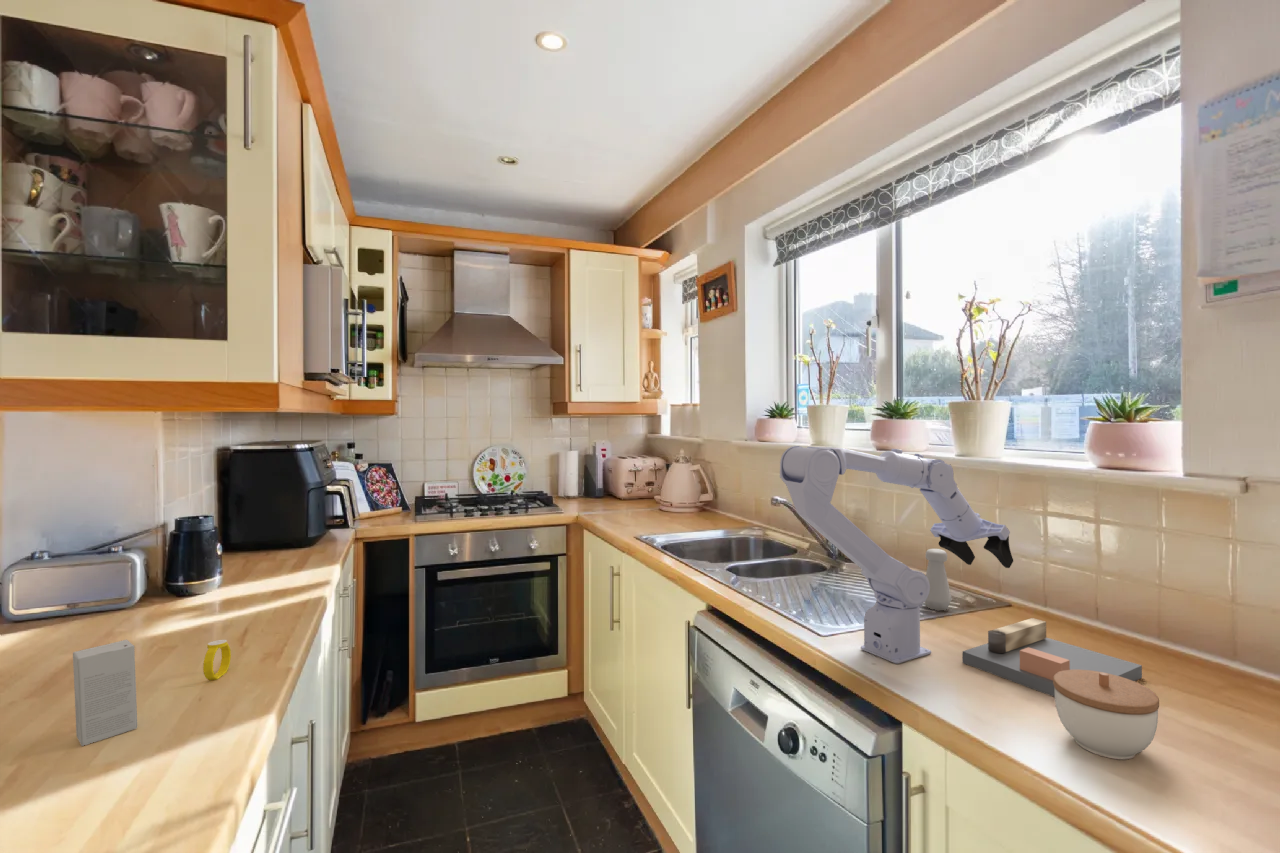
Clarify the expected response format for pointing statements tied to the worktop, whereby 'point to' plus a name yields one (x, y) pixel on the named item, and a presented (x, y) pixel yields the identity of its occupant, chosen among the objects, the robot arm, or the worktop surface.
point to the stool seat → (1046, 663)
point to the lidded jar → (1106, 712)
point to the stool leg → (1016, 635)
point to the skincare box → (104, 691)
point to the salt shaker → (937, 580)
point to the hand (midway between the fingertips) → (990, 562)
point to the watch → (209, 659)
